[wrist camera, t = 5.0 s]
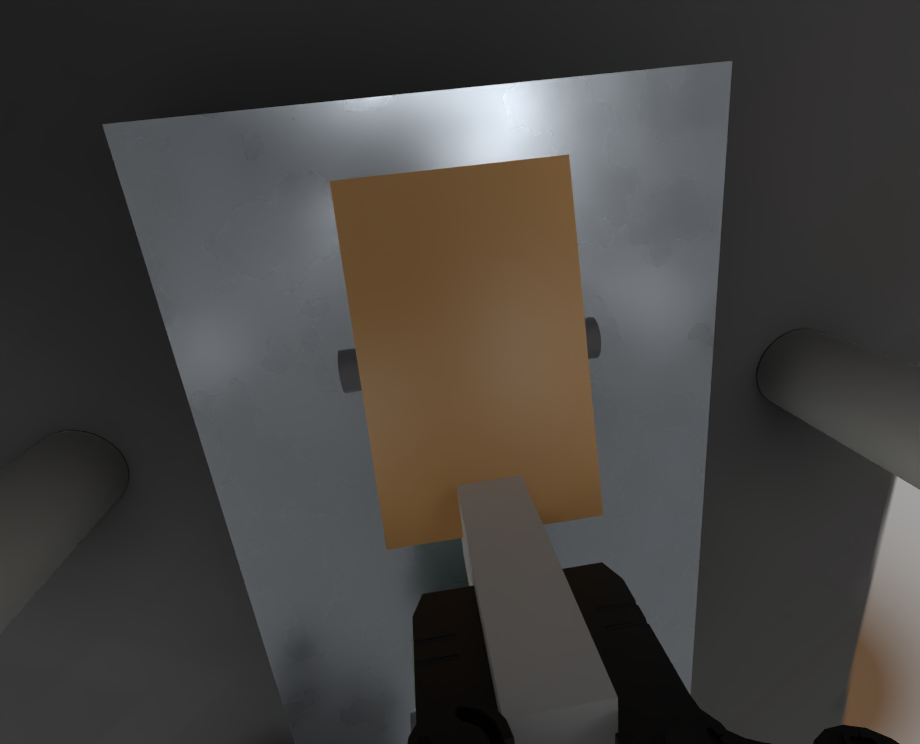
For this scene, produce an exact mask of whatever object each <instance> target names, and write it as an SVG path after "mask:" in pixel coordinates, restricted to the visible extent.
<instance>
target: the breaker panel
mask: <svg viewBox="0 0 920 744" xmlns="http://www.w3.org/2000/svg"><path fill="white" fill-rule="evenodd" d="M731 72H732V61H726V62H716V63H706V64H697V65H687V66H677V67H667V68H657V69H647V70H637V71H627V72H617V73H607V74H597V75H587V76H577V77H567V78H557V79H548V80H538V81H528V82H518V83H508V84H498V85H488V86H478V87H468V88H458V89H448V90H438V91H428V92H418V93H408V94H399V95H389V96H379V97H369V98H359V99H349V100H339V101H329V102H319V103H309V104H299V105H289V106H279V107H269V108H259V109H250V110H240V111H230V112H220V113H210V114H200V115H190V116H180V117H170V118H160V119H150V120H140V121H130V122H120V123H110V124H102V125H103V128H104V132H105V135H106V138H107V141H108V145H109V148H110V151H111V154H112V157H113V161H114V164H115V167H116V170H117V173H118V177H119V180H120V183H121V186H122V190H123V193H124V196H125V199H126V202H127V206H128V209H129V212H130V215H131V219H132V222H133V225H134V228H135V231H136V235H137V238H138V241H139V244H140V247H141V251H142V254H143V257H144V260H145V264H146V267H147V270H148V273H149V276H150V280H151V283H152V286H153V289H154V293H155V296H156V299H157V302H158V305H159V309H160V312H161V315H162V318H163V321H164V325H165V328H166V331H167V334H168V338H169V341H170V344H171V347H172V350H173V354H174V357H175V360H176V363H177V367H178V370H179V373H180V376H181V379H182V383H183V386H184V389H185V392H186V395H187V399H188V402H189V405H190V408H191V412H192V415H193V418H194V421H195V424H196V428H197V431H198V434H199V437H200V440H201V444H202V447H203V450H204V453H205V457H206V460H207V463H208V466H209V469H210V473H211V476H212V479H213V482H214V486H215V489H216V492H217V495H218V498H219V502H220V505H221V508H222V511H223V514H224V518H225V521H226V524H227V527H228V531H229V534H230V537H231V540H232V543H233V547H234V550H235V553H236V556H237V560H238V563H239V566H240V569H241V572H242V576H243V579H244V582H245V585H246V588H247V592H248V595H249V598H250V601H251V605H252V608H253V611H254V614H255V617H256V621H257V624H258V627H259V630H260V634H261V637H262V640H263V643H264V646H265V650H266V653H267V656H268V659H269V662H270V666H271V669H272V672H273V675H274V679H275V682H276V685H277V688H278V691H279V695H280V698H281V701H282V704H283V708H284V711H285V714H286V717H287V720H288V724H289V727H290V730H291V733H292V736H293V740H294V743H295V744H407V742H408V737H409V735H410V733H411V726H410V713H412V712H416V710H415V697H414V681H413V665H412V649H411V633H410V632H411V631H413V620H412V616H413V614H414V612H415V610H416V607H417V605H418V603H419V601H420V598H421V596H422V594H425V593H431V592H437V591H443V590H449V589H455V588H461V587H467V586H469V582H468V577H467V571H466V566H465V560H464V554H463V546H462V538H458V539H452V540H446V541H439V542H433V543H427V544H421V545H414V546H408V547H402V548H396V549H390V550H387V549H386V543H385V537H384V530H383V524H382V517H381V511H380V504H379V498H378V491H377V485H376V478H375V472H374V466H373V459H372V453H371V446H370V440H369V433H368V427H367V420H366V414H365V407H364V401H363V395H362V391H357V392H350V393H344V391H343V389H342V386H341V382H340V377H339V370H338V351H339V350H345V349H353V348H355V343H354V337H353V330H352V324H351V317H350V311H349V304H348V298H347V291H346V285H345V278H344V272H343V266H342V259H341V253H340V246H339V240H338V233H337V227H336V220H335V214H334V207H333V201H332V195H331V188H330V182H329V181H334V180H343V179H352V178H361V177H370V176H379V175H388V174H397V173H406V172H415V171H424V170H433V169H442V168H451V167H460V166H469V165H478V164H487V163H496V162H505V161H514V160H523V159H532V158H541V157H550V156H559V155H568V154H569V159H570V169H571V180H572V190H573V201H574V212H575V222H576V233H577V243H578V254H579V264H580V275H581V285H582V296H583V307H584V317H594V318H595V320H596V321H597V323H598V326H599V330H600V334H601V352H600V355H599V357H598V358H594V359H589V370H590V380H591V391H592V402H593V412H594V423H595V433H596V444H597V454H598V465H599V475H600V486H601V497H602V507H603V515H602V516H595V517H589V518H583V519H577V520H570V521H564V522H558V523H552V524H545V525H543V526H544V528H545V531H546V533H547V535H548V537H549V540H550V542H551V544H552V547H553V549H554V551H555V554H556V556H557V558H558V561H559V563H560V565H561V567H562V569H564V568H570V567H576V566H582V565H588V564H594V563H600V562H603V563H604V564H605V565H606V566H608V567H609V568H610V569H611V570H613V571H614V572H615V573H616V574H618V575H619V576H620V577H621V578H623V580H624V581H625V583H626V585H627V586H628V588H629V590H630V592H631V593H632V595H633V597H634V599H635V600H636V604H637V605H638V606H639V607H640V609H641V611H642V612H643V614H644V616H645V618H646V621H647V623H648V624H649V625H650V626H651V628H652V630H653V631H654V633H655V635H656V637H657V638H658V640H659V642H660V644H661V645H662V647H663V649H664V651H665V652H666V654H667V656H668V657H669V659H670V661H671V663H672V664H673V666H674V668H675V670H676V671H677V673H678V675H679V676H680V678H681V680H682V682H683V683H684V685H685V687H686V689H687V690H688V692H689V694H690V692H691V677H692V662H693V647H694V631H695V616H696V601H697V586H698V571H699V556H700V541H701V526H702V511H703V495H704V480H705V465H706V450H707V435H708V420H709V405H710V390H711V374H712V359H713V344H714V329H715V314H716V299H717V284H718V269H719V254H720V238H721V223H722V208H723V193H724V178H725V163H726V148H727V133H728V117H729V102H730V87H731Z"/></svg>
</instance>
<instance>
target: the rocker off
mask: <svg viewBox="0 0 920 744" xmlns="http://www.w3.org/2000/svg"><path fill="white" fill-rule="evenodd" d="M329 182H330V188H331V195H332V201H333V207H334V214H335V220H336V227H337V233H338V240H339V246H340V253H341V259H342V266H343V272H344V278H345V285H346V291H347V298H348V304H349V311H350V317H351V324H352V330H353V337H354V343H355V348H353V349H345V350H339V351H338V370H339V377H340V382H341V386H342V389H343V391H344V393H350V392H357V391H362V395H363V401H364V407H365V414H366V420H367V427H368V433H369V440H370V446H371V453H372V459H373V466H374V472H375V478H376V485H377V491H378V498H379V504H380V511H381V517H382V524H383V530H384V537H385V543H386V549H387V550H390V549H396V548H402V547H408V546H414V545H421V544H427V543H433V542H439V541H446V540H452V539H458V538H463V531H462V524H461V516H460V509H459V501H458V494H457V486H456V485H462V484H469V483H475V482H482V481H488V480H495V479H501V478H508V477H514V476H521V475H522V477H523V480H524V482H525V484H526V487H527V489H528V491H529V494H530V496H531V498H532V501H533V503H534V505H535V507H536V510H537V512H538V514H539V517H540V519H541V521H542V524H543V525H545V524H552V523H558V522H564V521H570V520H577V519H583V518H589V517H595V516H602V515H603V507H602V497H601V486H600V475H599V465H598V454H597V444H596V433H595V423H594V412H593V402H592V391H591V380H590V370H589V359H594V358H598V357H599V355H600V352H601V334H600V330H599V326H598V323H597V321H596V320H595V318H594V317H584V307H583V296H582V285H581V275H580V264H579V254H578V243H577V233H576V222H575V212H574V201H573V190H572V180H571V169H570V159H569V154H568V155H559V156H550V157H541V158H532V159H523V160H514V161H505V162H496V163H487V164H478V165H469V166H460V167H451V168H442V169H433V170H424V171H415V172H406V173H397V174H388V175H379V176H370V177H361V178H352V179H343V180H334V181H329Z"/></svg>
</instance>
